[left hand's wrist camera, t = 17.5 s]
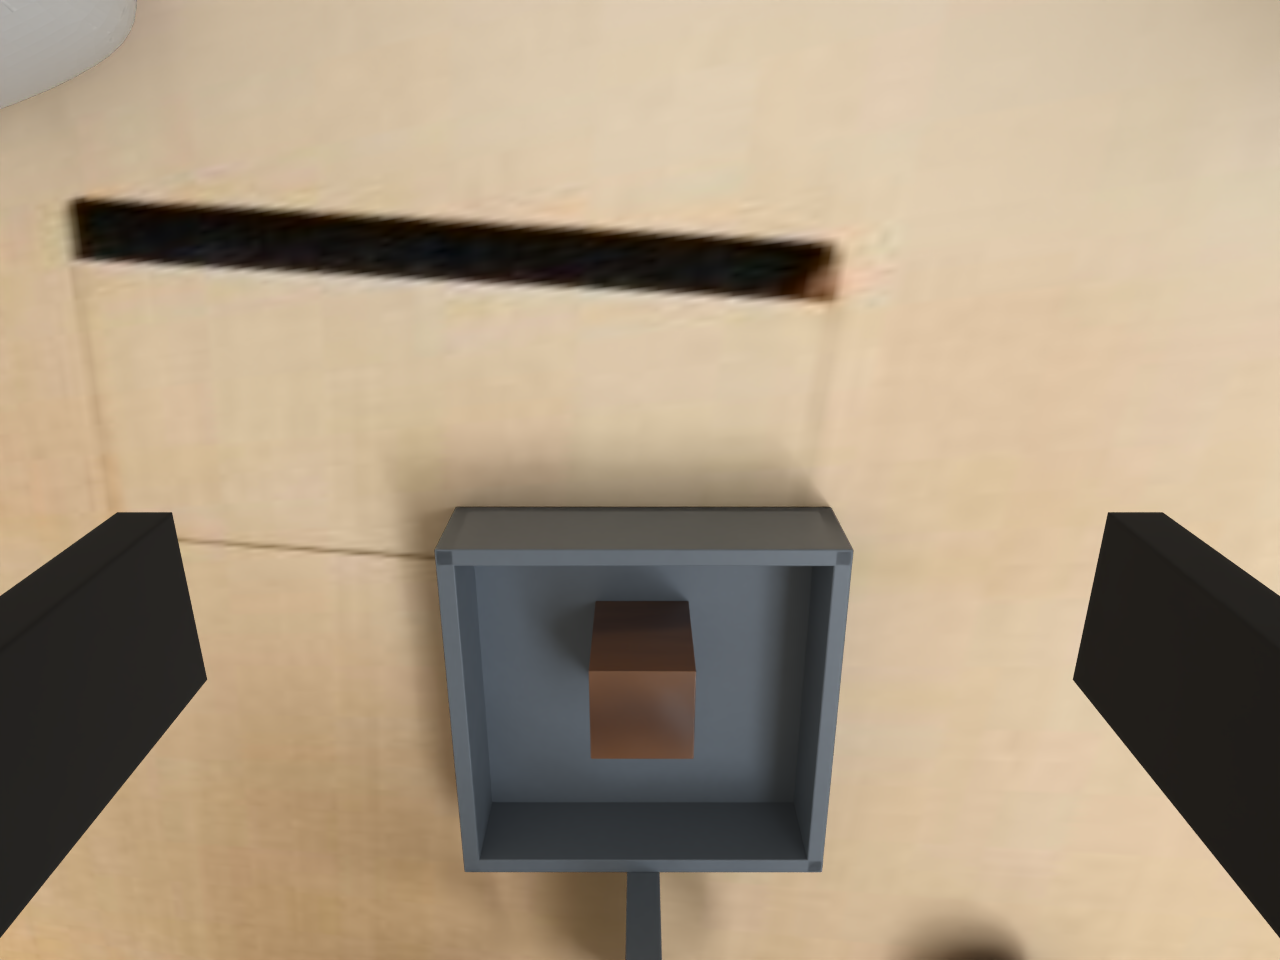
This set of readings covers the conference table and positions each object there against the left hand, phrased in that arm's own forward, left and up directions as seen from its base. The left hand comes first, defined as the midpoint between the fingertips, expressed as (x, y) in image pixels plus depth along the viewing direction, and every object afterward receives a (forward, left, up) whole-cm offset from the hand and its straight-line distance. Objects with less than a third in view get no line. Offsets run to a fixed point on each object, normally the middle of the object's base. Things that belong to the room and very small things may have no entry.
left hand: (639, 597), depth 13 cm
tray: (+19, +16, -27) cm, 37 cm away
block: (+13, +11, -26) cm, 31 cm away
